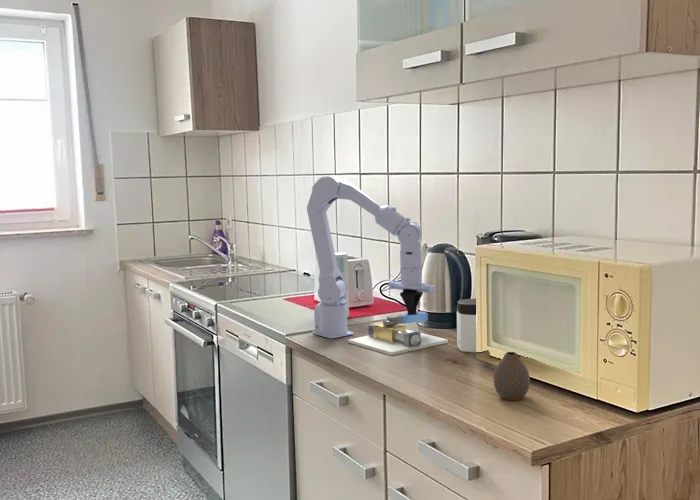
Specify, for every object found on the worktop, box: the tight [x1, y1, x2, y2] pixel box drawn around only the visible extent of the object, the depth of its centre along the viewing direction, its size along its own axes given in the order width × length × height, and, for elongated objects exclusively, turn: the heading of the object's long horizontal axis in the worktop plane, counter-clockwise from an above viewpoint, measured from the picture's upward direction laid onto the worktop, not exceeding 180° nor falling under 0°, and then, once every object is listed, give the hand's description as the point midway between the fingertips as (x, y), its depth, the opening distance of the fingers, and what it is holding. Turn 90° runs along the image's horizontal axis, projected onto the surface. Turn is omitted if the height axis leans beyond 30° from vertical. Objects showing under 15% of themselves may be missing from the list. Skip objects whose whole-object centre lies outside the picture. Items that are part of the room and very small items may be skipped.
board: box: [347, 328, 449, 356], centre depth 182 cm, size 18×19×1 cm
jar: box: [456, 298, 477, 354], centre depth 173 cm, size 9×8×12 cm
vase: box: [493, 352, 531, 401], centre depth 135 cm, size 7×7×9 cm
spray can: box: [335, 252, 350, 318], centre depth 216 cm, size 6×6×20 cm
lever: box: [382, 311, 429, 326], centre depth 184 cm, size 13×3×2 cm, turn 115°
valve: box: [367, 322, 422, 347], centre depth 181 cm, size 18×5×4 cm, turn 36°
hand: (412, 317), depth 188 cm, fingers closed, pressing on lever
